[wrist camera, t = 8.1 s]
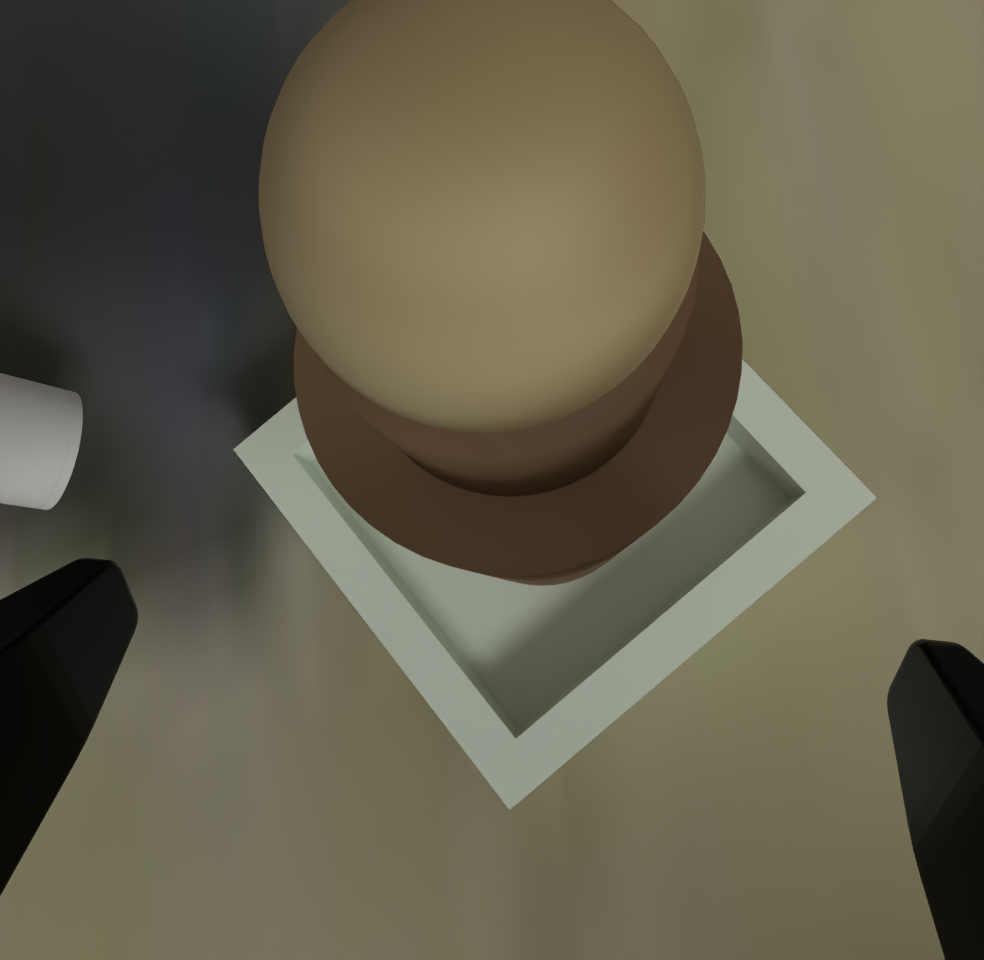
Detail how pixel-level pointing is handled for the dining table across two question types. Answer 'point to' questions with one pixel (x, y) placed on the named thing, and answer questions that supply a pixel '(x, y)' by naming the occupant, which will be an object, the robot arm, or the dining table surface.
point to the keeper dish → (572, 588)
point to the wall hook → (37, 441)
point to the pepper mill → (499, 279)
